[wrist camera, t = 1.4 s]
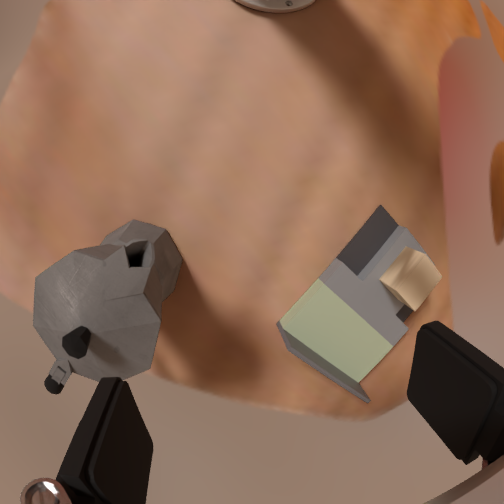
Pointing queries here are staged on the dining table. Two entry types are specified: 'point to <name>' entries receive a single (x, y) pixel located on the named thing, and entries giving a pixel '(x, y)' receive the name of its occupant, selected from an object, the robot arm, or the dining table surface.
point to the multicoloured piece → (352, 307)
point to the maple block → (411, 277)
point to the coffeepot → (106, 304)
